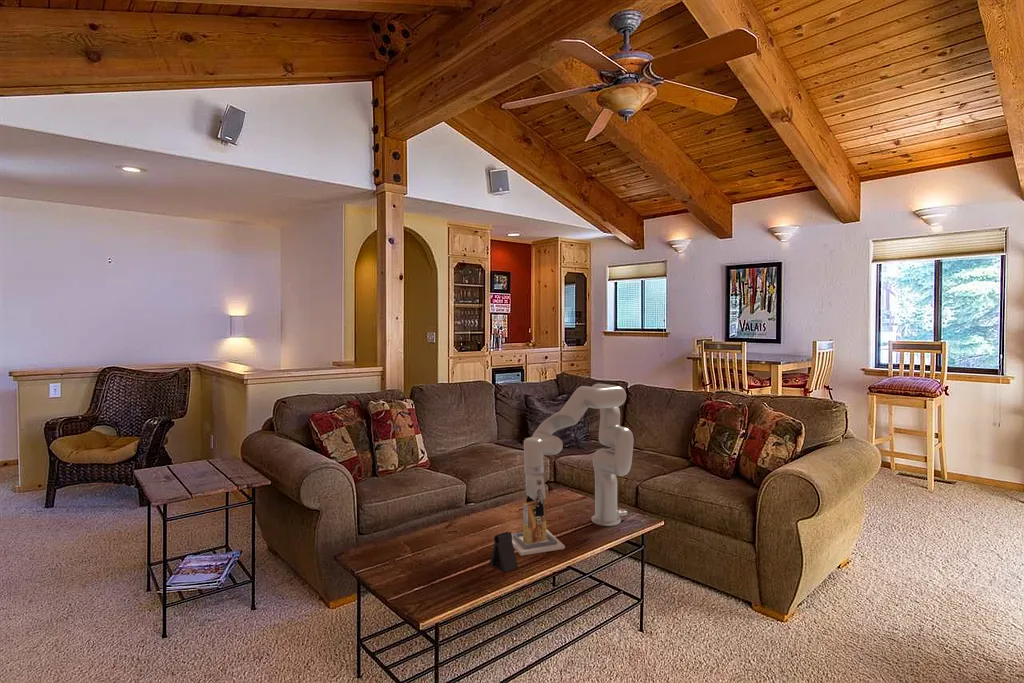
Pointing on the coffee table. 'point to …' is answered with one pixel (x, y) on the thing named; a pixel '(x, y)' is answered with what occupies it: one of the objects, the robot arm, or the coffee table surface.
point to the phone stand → (503, 553)
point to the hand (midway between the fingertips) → (535, 511)
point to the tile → (536, 544)
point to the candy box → (533, 523)
